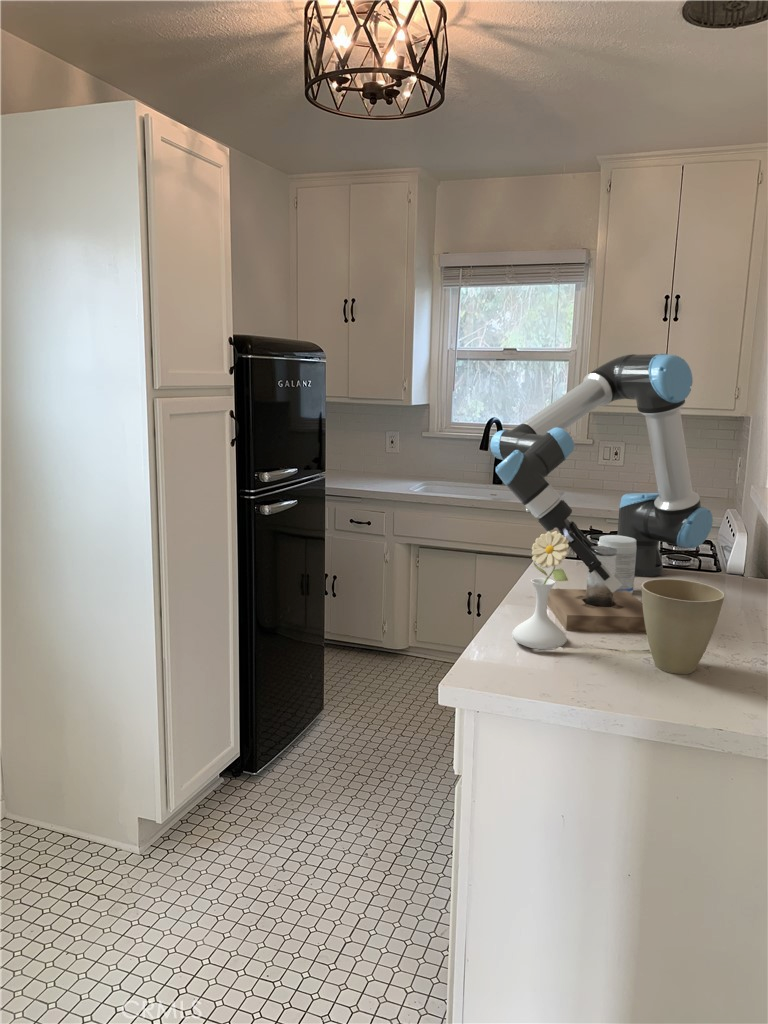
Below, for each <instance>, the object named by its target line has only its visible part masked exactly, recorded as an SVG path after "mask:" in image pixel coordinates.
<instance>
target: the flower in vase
mask: <svg viewBox="0 0 768 1024" xmlns="http://www.w3.org/2000/svg"><path fill="white" fill-rule="evenodd" d="M568 542H569V540H567V539H566V537H564V536H563V535H562V534H561V533H560V532H558V531H557V530H555V531H546V533H541V534H540V536H539V537H537V538H536V539H535V542H534V543H533V544H532V547H531V555H532V557H531V560H532V561H533V566H534V568H536V569H537V571H539V572H541V574H544V575H545V576H547V577H536V578H532V579H530V582H531V584H532V585H533V587H534V591H535V610H534V612H533V615H532V616H530V617H528V619H526V620H524V621H522V622H521V623H519V624H517V626H515V628H513V630H512V631H511V637H512V639H513V640H514V641H515V642H516V643H518V644H519V645H522V646H523V647H527V648H531V649H537V650H554V649H558V648H561V647H562V646H564V645H565V644H566V643H567V641H568V638H567V635H566V633H565V632H564V631H563V630H562V629H561V628H560V627H559V626H558V625H557V624H556V623H555V622H554V621H553V620H552V619H550V617H549V615H548V611H547V608H548V605H547V600H548V595H549V592H550V590H551V589H553V587H554V586H555V584H557V583H556V582H566V581H567V582H568V581H569V579H568V576H567V575H566V573H565V571H564V569H562V568H557V569H556V567H557V566H558V565H560V564H562V562H563V560H565V559H566V557H567V555H568V554H569V553H570V549H569V547H570V546H569V545H568ZM538 565H539V566H538ZM550 567H552V570H551V571H550V573H549V574H547V572H546V571H545V570H544V569H545V568H547V569H549V568H550ZM552 575H553V577H554V580H553V579H551V578H550V577H551V576H552Z"/></svg>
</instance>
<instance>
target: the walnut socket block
mask: <svg viewBox="0 0 768 1024" xmlns="http://www.w3.org/2000/svg"><path fill="white" fill-rule="evenodd" d="M586 590H587V589H578V588H577V589H573V588H551V590H550V592H549V595H548V600H547V608H549V609H550V611H551V612H552V614H553V615H554V616H555V618H556V620H557V621H558V622H559V623H560V624H561V626H562V627H563V628H564V630H565V631H567V632H569V631H570V632H571V631H572V632H574V631H575V632H609V633H610V632H611V633H614V632H615V633H642V634H643V633H645V634H647V633H646V627H645V621H644V614H643V604H642V601H640V600H639V599H638V598H637V597H636V596H634V595H633V593H630V592H629V591H620V590H616V591H614V593H613V605H612V606H611V607H596V606H592V605H588V604H586Z"/></svg>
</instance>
